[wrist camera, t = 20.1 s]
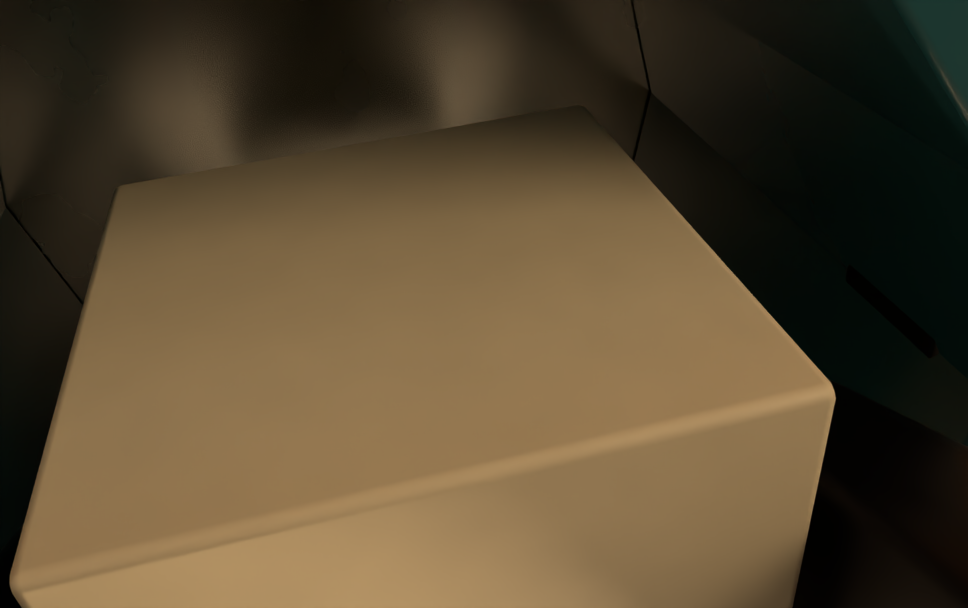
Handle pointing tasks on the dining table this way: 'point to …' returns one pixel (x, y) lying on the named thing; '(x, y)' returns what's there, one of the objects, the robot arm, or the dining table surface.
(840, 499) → the robot arm
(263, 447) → the block
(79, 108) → the saucepan
